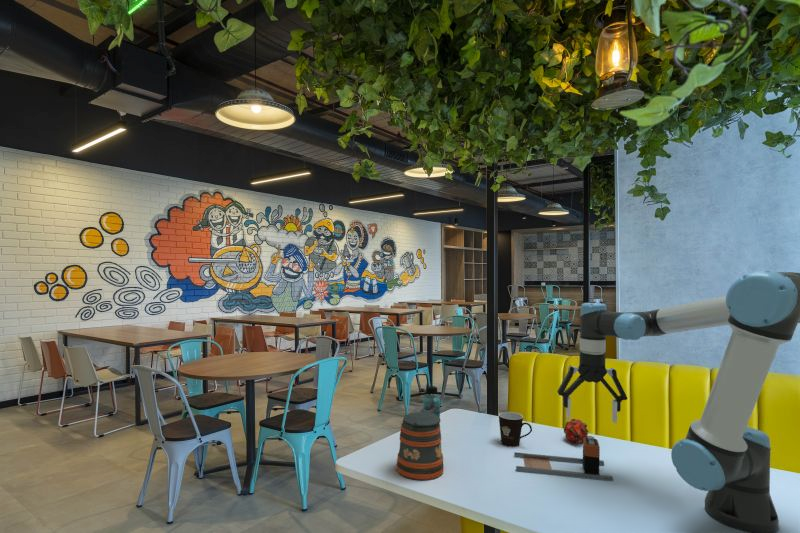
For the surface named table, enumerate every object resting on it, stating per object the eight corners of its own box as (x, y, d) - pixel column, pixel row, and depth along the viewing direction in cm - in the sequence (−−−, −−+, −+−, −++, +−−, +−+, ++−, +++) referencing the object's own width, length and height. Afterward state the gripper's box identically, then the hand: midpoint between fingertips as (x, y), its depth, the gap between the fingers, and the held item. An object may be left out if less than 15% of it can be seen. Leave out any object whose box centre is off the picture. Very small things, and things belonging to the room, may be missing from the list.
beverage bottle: (419, 444, 161) (420, 388, 161) (424, 438, 167) (425, 383, 168) (437, 447, 159) (438, 390, 159) (441, 440, 165) (442, 385, 166)
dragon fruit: (576, 439, 173) (579, 456, 162) (558, 425, 174) (558, 440, 163) (591, 424, 171) (594, 439, 159) (572, 409, 172) (574, 424, 161)
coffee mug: (493, 440, 166) (493, 413, 166) (512, 437, 169) (512, 410, 170) (513, 452, 155) (514, 423, 155) (533, 449, 159) (534, 420, 159)
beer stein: (408, 452, 154) (409, 393, 154) (451, 458, 149) (452, 398, 150) (390, 476, 136) (391, 409, 136) (437, 484, 131) (438, 415, 132)
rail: (612, 480, 135) (612, 476, 135) (516, 471, 141) (516, 467, 141) (603, 464, 147) (603, 460, 147) (514, 455, 153) (514, 452, 153)
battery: (597, 467, 145) (597, 436, 145) (599, 476, 138) (599, 443, 138) (582, 465, 146) (582, 434, 146) (584, 474, 140) (584, 441, 140)
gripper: (631, 352, 144) (630, 419, 144) (549, 347, 149) (548, 412, 149) (639, 356, 136) (637, 427, 136) (552, 351, 141) (551, 420, 141)
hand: (591, 419), depth 142 cm, fingers open, 13 cm apart
